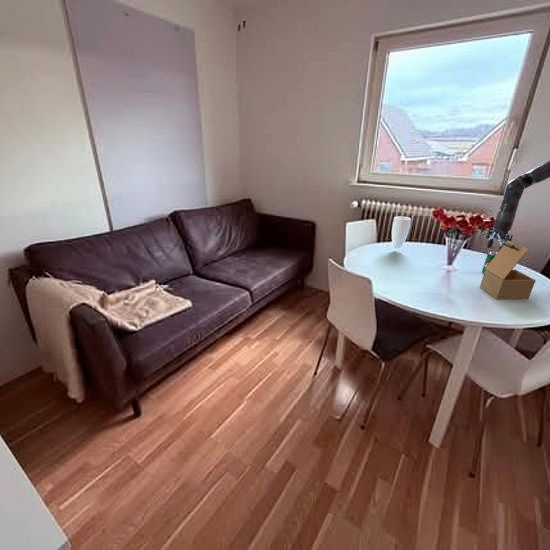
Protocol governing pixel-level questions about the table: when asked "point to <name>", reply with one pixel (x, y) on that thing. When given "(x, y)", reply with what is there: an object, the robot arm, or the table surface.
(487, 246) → the robot arm
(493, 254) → the soda can
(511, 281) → the carton
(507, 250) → the flap
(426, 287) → the table surface
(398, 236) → the white vase
